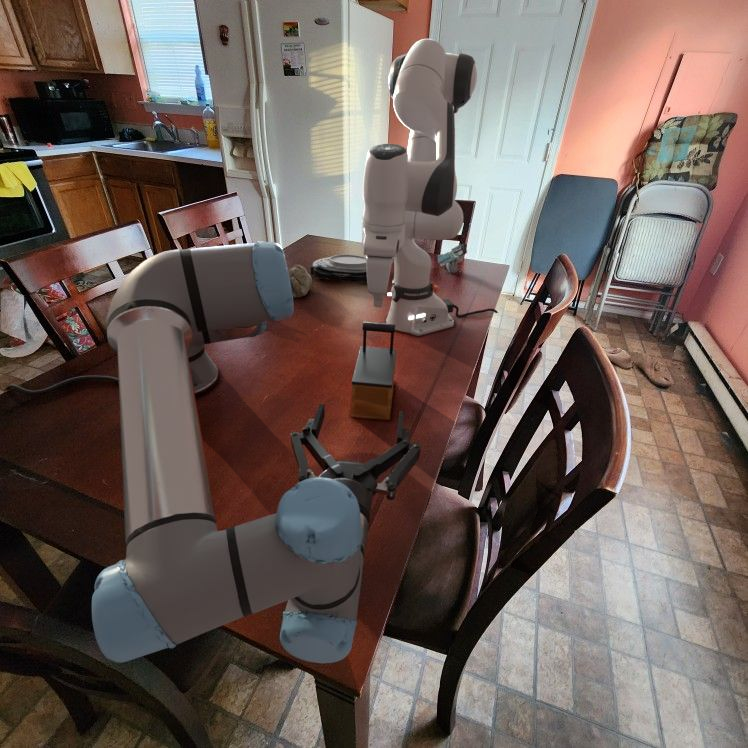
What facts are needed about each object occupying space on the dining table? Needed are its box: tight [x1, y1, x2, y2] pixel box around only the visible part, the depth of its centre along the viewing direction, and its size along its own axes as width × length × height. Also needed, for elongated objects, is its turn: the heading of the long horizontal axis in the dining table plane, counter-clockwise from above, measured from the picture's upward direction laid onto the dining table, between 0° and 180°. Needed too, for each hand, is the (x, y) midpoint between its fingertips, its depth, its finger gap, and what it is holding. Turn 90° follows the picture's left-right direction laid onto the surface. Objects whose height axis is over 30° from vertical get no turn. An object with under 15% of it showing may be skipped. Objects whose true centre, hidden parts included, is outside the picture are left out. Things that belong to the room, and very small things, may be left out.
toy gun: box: [436, 242, 468, 274], centre depth 173 cm, size 4×19×10 cm
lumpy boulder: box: [288, 264, 313, 299], centre depth 150 cm, size 11×11×15 cm
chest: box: [350, 358, 397, 421], centre depth 100 cm, size 15×9×9 cm, turn 174°
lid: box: [351, 321, 397, 388], centre depth 95 cm, size 16×9×9 cm, turn 174°
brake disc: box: [310, 254, 367, 283], centre depth 171 cm, size 32×30×5 cm
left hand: (361, 413), depth 71 cm, fingers open, 13 cm apart
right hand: (380, 296), depth 93 cm, fingers open, 8 cm apart
